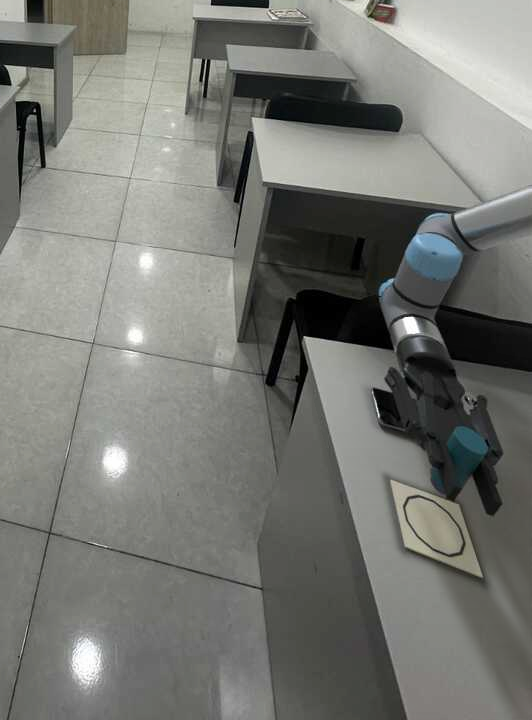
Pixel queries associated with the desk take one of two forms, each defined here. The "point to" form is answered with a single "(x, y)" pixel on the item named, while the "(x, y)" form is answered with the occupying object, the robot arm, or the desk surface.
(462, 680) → the desk surface
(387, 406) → the smartphone
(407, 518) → the drawing sheet
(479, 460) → the teal cylinder
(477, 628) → the desk surface
